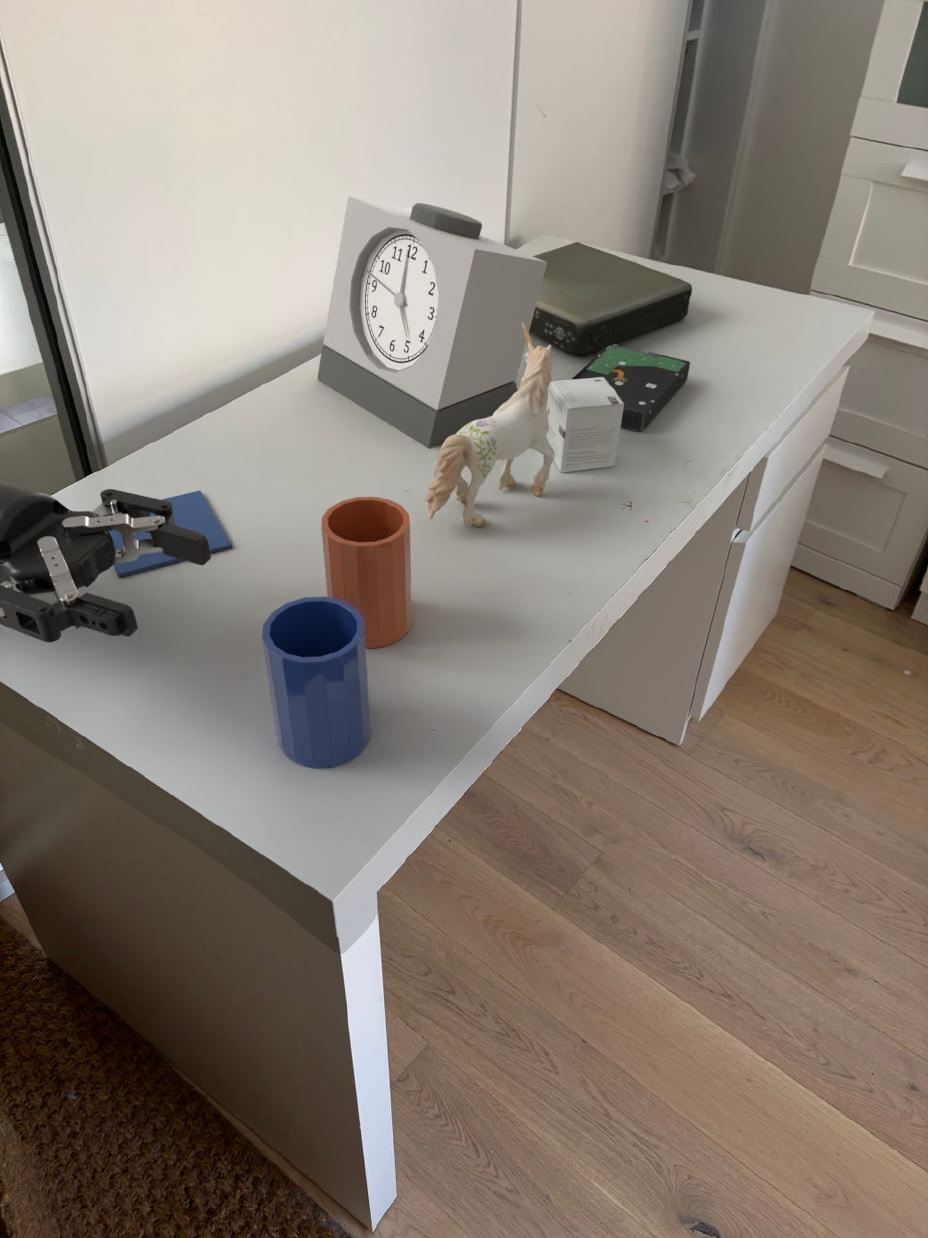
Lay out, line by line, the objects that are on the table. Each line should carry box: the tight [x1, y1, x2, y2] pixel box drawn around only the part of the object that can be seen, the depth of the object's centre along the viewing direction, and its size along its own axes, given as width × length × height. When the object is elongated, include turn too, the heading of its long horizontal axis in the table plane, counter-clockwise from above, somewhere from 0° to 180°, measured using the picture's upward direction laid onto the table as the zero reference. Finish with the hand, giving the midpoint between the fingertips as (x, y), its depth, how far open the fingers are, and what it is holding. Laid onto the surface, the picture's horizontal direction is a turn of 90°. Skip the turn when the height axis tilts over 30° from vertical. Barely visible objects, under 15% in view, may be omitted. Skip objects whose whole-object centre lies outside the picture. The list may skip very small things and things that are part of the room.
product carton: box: [546, 377, 624, 473], centre depth 98 cm, size 6×6×7 cm
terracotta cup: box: [320, 496, 413, 649], centre depth 76 cm, size 7×7×10 cm
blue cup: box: [261, 596, 372, 769], centre depth 66 cm, size 7×7×10 cm
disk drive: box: [570, 343, 691, 432], centre depth 110 cm, size 10×3×15 cm
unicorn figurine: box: [425, 322, 555, 528], centre depth 90 cm, size 7×20×13 cm, turn 151°
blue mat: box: [109, 490, 233, 578], centre depth 88 cm, size 10×10×1 cm
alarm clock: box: [316, 195, 547, 449], centre depth 104 cm, size 20×16×20 cm
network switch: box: [529, 241, 693, 356], centre depth 127 cm, size 23×24×5 cm
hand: (171, 585), depth 66 cm, fingers open, 8 cm apart
